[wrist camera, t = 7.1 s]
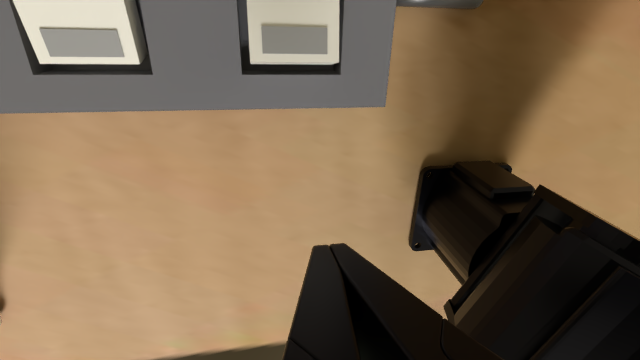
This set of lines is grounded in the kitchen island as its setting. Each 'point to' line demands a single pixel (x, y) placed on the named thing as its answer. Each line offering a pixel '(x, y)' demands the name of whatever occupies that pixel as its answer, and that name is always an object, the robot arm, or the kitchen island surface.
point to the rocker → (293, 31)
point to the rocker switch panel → (206, 63)
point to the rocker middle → (83, 31)
